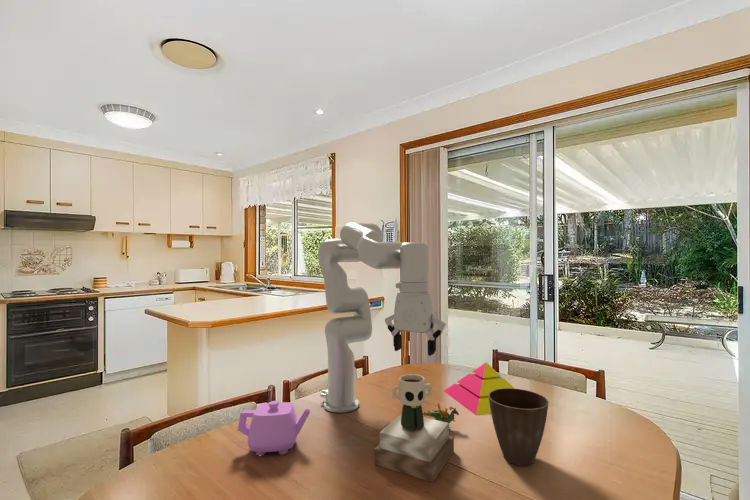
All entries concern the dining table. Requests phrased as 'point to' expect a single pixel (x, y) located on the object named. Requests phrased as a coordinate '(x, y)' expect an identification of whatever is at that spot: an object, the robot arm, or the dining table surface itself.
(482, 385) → the pyramid toy
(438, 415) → the figurine
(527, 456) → the plant pot
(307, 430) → the dining table surface
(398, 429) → the grey stacked block
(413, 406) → the character mug
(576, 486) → the dining table surface
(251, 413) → the teapot
